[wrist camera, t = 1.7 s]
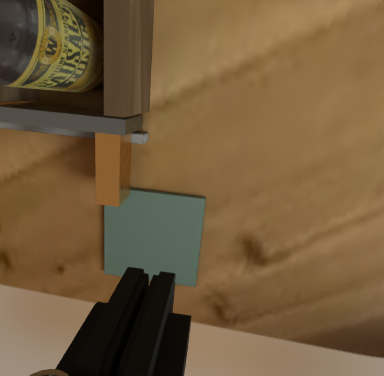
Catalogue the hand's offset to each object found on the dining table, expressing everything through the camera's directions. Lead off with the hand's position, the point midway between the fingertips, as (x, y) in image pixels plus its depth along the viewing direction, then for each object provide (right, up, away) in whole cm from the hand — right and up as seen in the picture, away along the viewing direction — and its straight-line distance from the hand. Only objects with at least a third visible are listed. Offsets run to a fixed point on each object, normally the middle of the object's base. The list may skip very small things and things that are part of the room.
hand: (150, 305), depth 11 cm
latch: (-9, +8, +18) cm, 22 cm away
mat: (-3, -1, +21) cm, 21 cm away
